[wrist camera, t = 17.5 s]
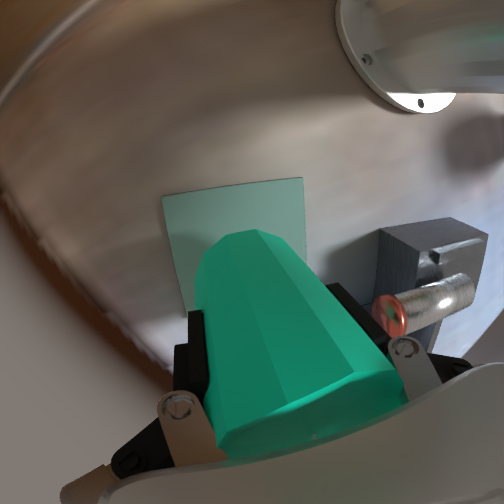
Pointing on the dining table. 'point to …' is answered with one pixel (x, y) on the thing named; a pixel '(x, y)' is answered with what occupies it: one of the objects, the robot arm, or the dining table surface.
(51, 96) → the dining table surface
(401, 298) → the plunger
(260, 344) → the candle
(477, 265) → the housing
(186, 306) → the pad
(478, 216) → the dining table surface
